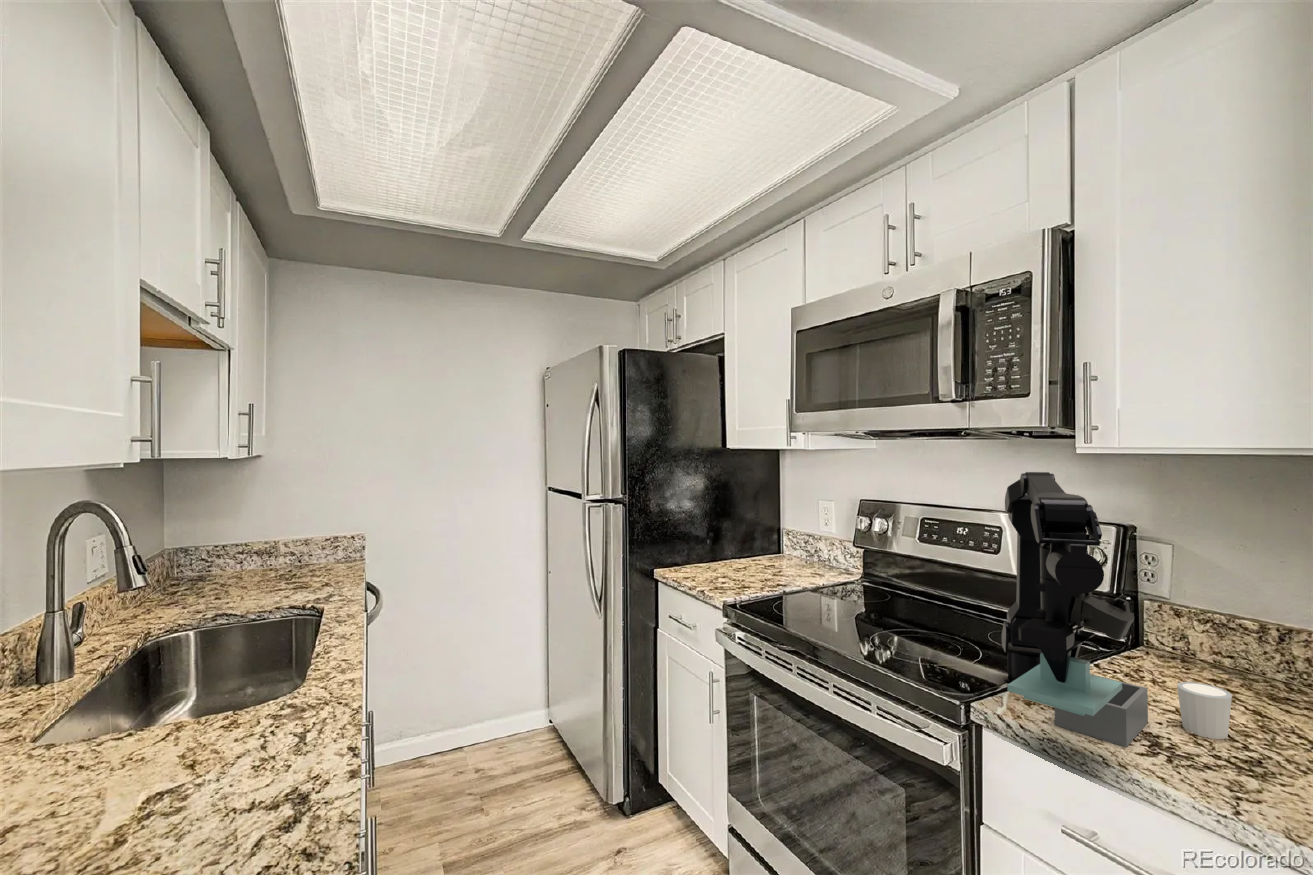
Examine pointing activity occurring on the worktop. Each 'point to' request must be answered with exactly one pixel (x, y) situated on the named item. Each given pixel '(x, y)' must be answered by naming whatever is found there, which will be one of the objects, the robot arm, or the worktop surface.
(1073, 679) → the lid
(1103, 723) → the tub
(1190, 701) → the white cup
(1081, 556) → the robot arm
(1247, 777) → the worktop surface
